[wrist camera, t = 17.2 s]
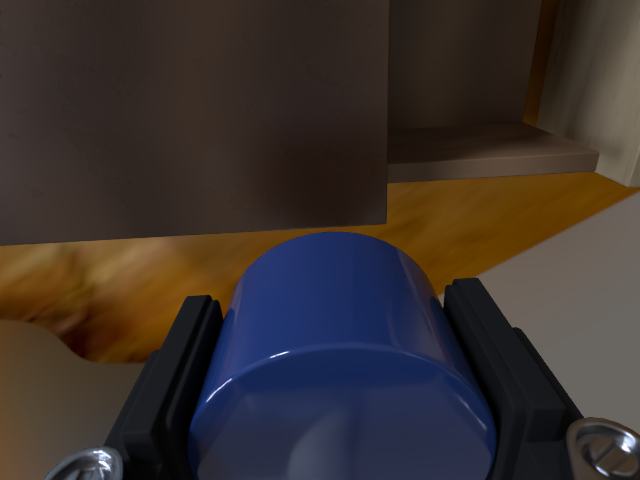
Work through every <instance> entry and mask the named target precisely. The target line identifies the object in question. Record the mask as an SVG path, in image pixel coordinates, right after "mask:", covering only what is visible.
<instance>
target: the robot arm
mask: <svg viewBox="0 0 640 480" xmlns="http://www.w3.org/2000/svg"><path fill="white" fill-rule="evenodd" d="M443 309H444V311H445V314H446V316H447V318H448V320H449V322H450V324H451V326H452V328H453V330H454V332H455V335H456V337H457V339H458V341H459V343H460V345H461V347H462V349H463V351H464V353H465V356H466V358H467V360H468V362H469V364H470V366H471V368H472V370H473V372H474V375H475V377H476V379H477V381H478V383H479V385H480V387H481V389H482V391H483V393H484V396H485V398H486V400H487V402H488V404H489V406H490V408H491V410H492V413H493V416H494V419H495V422H496V427H497V436H498V444H497V454H496V458H495V462H494V465H493V468H492V470H491V472H490V474H489V476H488V478H487V480H640V435H639V434H638V433H636V432H635V431H633V430H632V429H630V428H627V427H625V426H623V425H621V424H619V423H617V422H614V421H610V420H607V419H603V418H593V417H588V418H584V417H583V415H582V414H581V413H580V411H579V410H578V408H577V407H576V405H575V404H574V403H573V401H572V400H571V398H570V397H569V396H568V394H567V393H566V392H565V390H564V389H563V387H562V386H561V384H560V383H559V382H558V380H557V379H556V377H555V376H554V374H553V373H552V372H551V371H550V369H549V368H548V366H547V365H546V363H545V362H544V360H543V359H542V358H541V356H540V355H539V353H538V352H537V350H536V349H535V348H534V346H533V345H532V343H531V342H530V341H529V339H528V338H527V336H526V335H525V334H524V332H522V330H521V329H519V328H517V327H515V328H512V327H511V325H510V324H509V323H508V321H507V320H506V318H505V317H504V316H503V314H502V312H501V311H500V309H499V308H498V306H497V305H496V304H495V302H494V300H493V299H492V298H491V296H490V295H489V293H488V292H487V290H486V289H485V287H484V286H483V285H482V283H481V282H480V280H479V279H478V278H463V279H454V280H453V282H452V285H447V286H446V288H445V296H444V307H443ZM222 323H223V316H222V311H221V307H220V303H219V301H218V300H212V298H211V296H210V295H200V296H188V297H186V299H185V300H184V303H183V305H182V307H181V309H180V311H179V313H178V315H177V317H176V319H175V321H174V323H173V325H172V327H171V329H170V331H169V333H168V335H167V337H166V339H165V341H164V343H163V345H162V347H161V349H160V350H155V351H153V352H152V353H151V355H150V356H149V358H148V360H147V362H146V364H145V366H144V368H143V370H142V372H141V373H140V376H139V378H138V379H137V381H136V383H135V385H134V387H133V389H132V391H131V393H130V395H129V397H128V399H127V400H126V402H125V405H124V406H123V408H122V410H121V412H120V414H119V416H118V418H117V420H116V422H115V424H114V426H113V428H112V429H111V431H110V433H109V435H108V437H107V439H106V441H105V443H104V445H103V446H93V447H89V448H84V449H82V450H80V451H78V452H76V453H73V454H71V455H70V456H68V457H67V458H65V459H64V460H62V461H61V462H59V463H58V464H57V465H56V466H55V467H54V468H53V469H52V470H51V471H50V472H48V473H47V475H46V476H45V477H44V479H43V480H194V479H193V477H192V474H191V471H190V468H189V465H188V462H187V453H186V440H187V435H188V429H189V426H190V423H191V420H192V416H193V413H194V410H195V407H196V404H197V401H198V398H199V395H200V392H201V388H202V385H203V382H204V379H205V376H206V373H207V370H208V367H209V364H210V360H211V357H212V354H213V351H214V348H215V345H216V342H217V339H218V336H219V333H220V329H221V326H222Z"/></svg>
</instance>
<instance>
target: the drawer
mask: <svg viewBox="0 0 640 480" xmlns="http://www.w3.org/2000/svg"><path fill="white" fill-rule="evenodd" d="M542 1H543V0H391V16H390V67H389V117H388V168H387V183H399V182H416V181H433V180H451V179H468V178H485V177H503V176H520V175H537V174H555V173H572V172H589V171H594V172H596V173H598V174H600V175H602V176H604V177H606V178H608V179H611V180H613V181H615V182H617V183H619V184H621V185H623V186H626V187H628V188H629V187H640V0H559V3H558V8H557V14H556V19H555V25H554V30H553V36H552V42H551V47H550V53H549V58H548V64H547V69H546V75H545V80H544V86H543V91H542V97H541V102H540V108H539V113H538V119H537V124H536V127H534V126H532V125H529V124H527V123H524V122H523V116H524V110H525V104H526V98H527V92H528V86H529V80H530V74H531V68H532V62H533V56H534V50H535V44H536V38H537V32H538V26H539V20H540V14H541V7H542Z"/></svg>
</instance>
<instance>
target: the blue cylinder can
mask: <svg viewBox="0 0 640 480" xmlns="http://www.w3.org/2000/svg"><path fill="white" fill-rule="evenodd" d="M497 444H498V436H497V427H496V422H495V419H494V416H493V413H492V410H491V408H490V406H489V404H488V402H487V400H486V398H485V396H484V393H483V391H482V389H481V387H480V385H479V383H478V381H477V379H476V377H475V375H474V372H473V370H472V368H471V366H470V364H469V362H468V360H467V358H466V356H465V353H464V351H463V349H462V347H461V345H460V343H459V341H458V339H457V337H456V335H455V332H454V330H453V328H452V326H451V324H450V322H449V320H448V318H447V316H446V314H445V311H444V309H443V307H442V305H441V303H440V301H439V299H438V297H437V295H436V293H435V290H434V288H433V286H432V284H431V283H430V281H429V279H428V277H427V275H426V274H425V273H424V271H423V270H422V269H421V268H420V266H419V265H418V264H417V263H416V262H415V261H414V260H413V259H412V258H410V257H409V256H408V255H407V254H405V253H404V252H402V251H401V250H400V249H398V248H396V247H394V246H392V245H390V244H389V243H387V242H384V241H382V240H379V239H376V238H373V237H370V236H366V235H362V234H357V233H349V232H322V233H314V234H309V235H305V236H301V237H297V238H294V239H292V240H289V241H286V242H284V243H282V244H280V245H278V246H276V247H274V248H272V249H270V250H269V251H267V252H266V253H265V254H263V255H262V256H261V257H259V258H258V259H257V260H256V261H255V262H254V263H253V264H252V265H250V266H249V267H248V269H247V270H246V271H245V272H244V274H243V275H242V276H241V277H240V279H239V281H238V283H237V284H236V286H235V288H234V290H233V293H232V296H231V299H230V301H229V305H228V308H227V311H226V314H225V317H224V320H223V323H222V326H221V329H220V333H219V336H218V339H217V342H216V345H215V348H214V351H213V354H212V357H211V360H210V364H209V367H208V370H207V373H206V376H205V379H204V382H203V385H202V388H201V392H200V395H199V398H198V401H197V404H196V407H195V410H194V413H193V416H192V420H191V423H190V426H189V429H188V435H187V440H186V453H187V462H188V465H189V468H190V471H191V474H192V477H193V479H194V480H487V478H488V476H489V474H490V472H491V470H492V468H493V465H494V462H495V458H496V454H497Z"/></svg>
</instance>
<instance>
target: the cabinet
mask: <svg viewBox="0 0 640 480" xmlns="http://www.w3.org/2000/svg"><path fill="white" fill-rule="evenodd" d="M390 16H391V0H0V246H5V245H22V244H40V243H58V242H76V241H93V240H111V239H129V238H147V237H164V236H182V235H200V234H218V233H235V232H253V231H271V230H289V229H307V228H324V227H342V226H360V225H378V224H386V219H387V168H388V117H389V67H390Z"/></svg>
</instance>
